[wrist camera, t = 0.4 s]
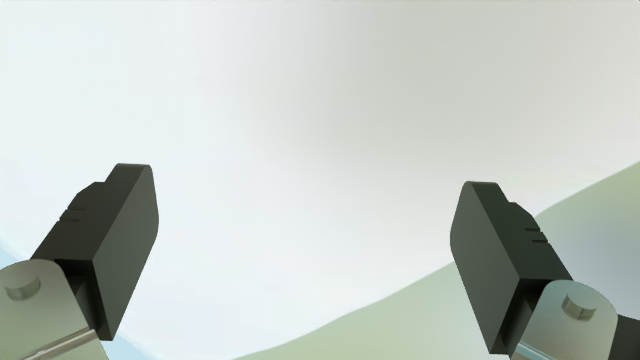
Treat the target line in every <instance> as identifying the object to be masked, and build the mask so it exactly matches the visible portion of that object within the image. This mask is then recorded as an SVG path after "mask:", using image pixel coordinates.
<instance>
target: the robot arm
mask: <svg viewBox="0 0 640 360" xmlns="http://www.w3.org/2000/svg"><path fill="white" fill-rule="evenodd" d="M59 219H60V220H59V221H57V222H56V224H55V225H54V226H53V228H52V229H51V231H50V232H49V233H48V235H47V236H46V237H45V239H44V240H43V242H42V243H41V244H40V246H39V247H38V248H37V250H36V251H35V253H34V254H33V255H32V257H31V258H30V259H29V260H26V261H21V262H18V263H15V264H12V265H9V266H7V267H5V268H3V269H1V270H0V360H109V359H108V357H107V355H106V353H105V351H104V348H103V346H102V344H101V342H100V340H102V341H113V339H114V336H115V334H116V332H117V329H118V327H119V324H120V322H121V320H122V317H123V315H124V313H125V310H126V308H127V306H128V303H129V301H130V298H131V296H132V294H133V291H134V289H135V287H136V284H137V282H138V280H139V277H140V275H141V272H142V270H143V268H144V265H145V263H146V261H147V258H148V256H149V254H150V251H151V249H152V246H153V244H154V242H155V239H156V236H157V232H158V225H159V215H158V207H157V200H156V193H155V186H154V179H153V173H152V169H151V167H150V165H144V164H124V163H118V164H116V166H115V167H114V168H113V170H112V171H111V173H110V174H109V176H108V177H107V179H106V180H105V182H94V183H92V184H91V185H89V186H88V187H86V188H85V189H83V190H82V191H80V192H79V193H77V195H76V196H75V197H74V199H73V200H72V202H71V203H70V204H69V206H68V209H67V210H65V211H64V213H63V214H62V215H61V217H60V218H59ZM450 246H451V251H452V254H453V257H454V260H455V262H456V265H457V268H458V270H459V273H460V276H461V278H462V281H463V284H464V286H465V289H466V292H467V295H468V297H469V300H470V303H471V305H472V308H473V310H474V314H475V316H476V319H477V321H478V324H479V327H480V330H481V332H482V335H483V338H484V340H485V343H486V346H487V349H488V351H489V354H505V355H509V358H510V360H640V320H636V319H632V318H629V317H625V316H622V315H618V314H617V312H616V310H615V308H614V306H613V305H612V304H611V302H610V301H609V300H608V299H607V298H606V297H605V296H603V295H602V294H601V293H599V292H598V291H596V290H595V289H593V288H591V287H589V286H587V285H584V284H582V283H579V282H576V281H574V280H573V279H572V277H571V276H570V274H569V273H568V271H567V270H566V268H565V267H564V265H563V263H562V262H561V260H560V259H559V257H558V256H557V254H556V252H555V251H554V249H553V248H552V246H551V245H550V243H548V240H547V238H546V237H545V235H544V234H543V232H540V228H539V226H538V224H537V223H536V221H535V220H534V218H533V217H532V215H531V214H530V213H528V212H527V211H526V210H525V209H523V208H522V207H521V206H520V205H518V204H517V203H516V202H508V200H507V198H506V197H505V195H504V193H503V192H502V190H501V188H500V187H499V185H498V184H497V183H494V182H474V181H467V182H465V183H464V185H463V187H462V190H461V194H460V197H459V201H458V205H457V208H456V212H455V216H454V219H453V223H452V227H451V232H450Z"/></svg>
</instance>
